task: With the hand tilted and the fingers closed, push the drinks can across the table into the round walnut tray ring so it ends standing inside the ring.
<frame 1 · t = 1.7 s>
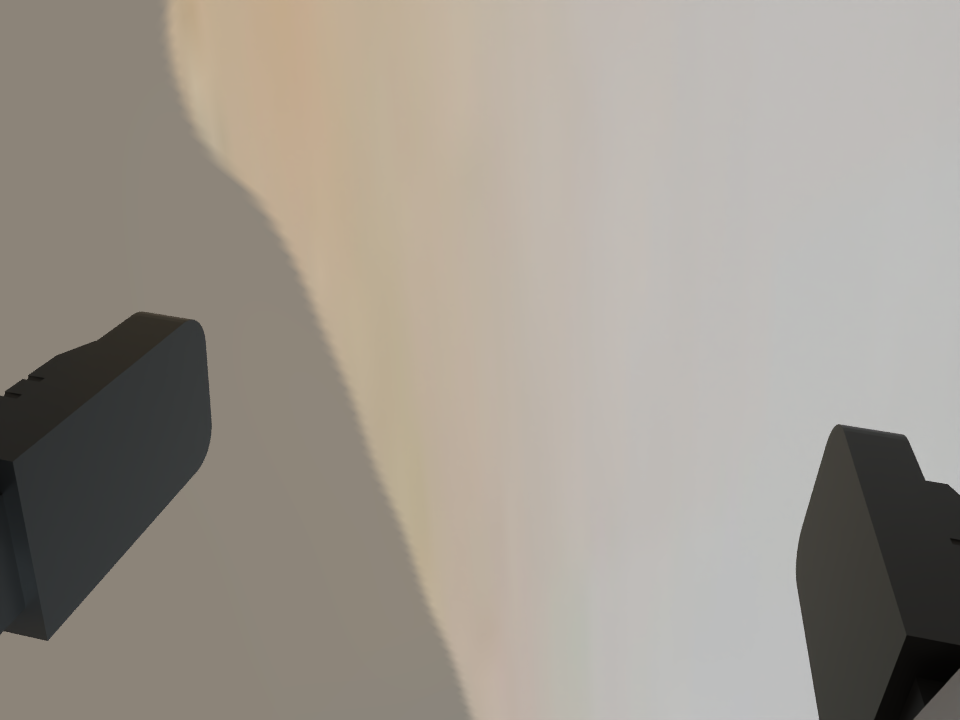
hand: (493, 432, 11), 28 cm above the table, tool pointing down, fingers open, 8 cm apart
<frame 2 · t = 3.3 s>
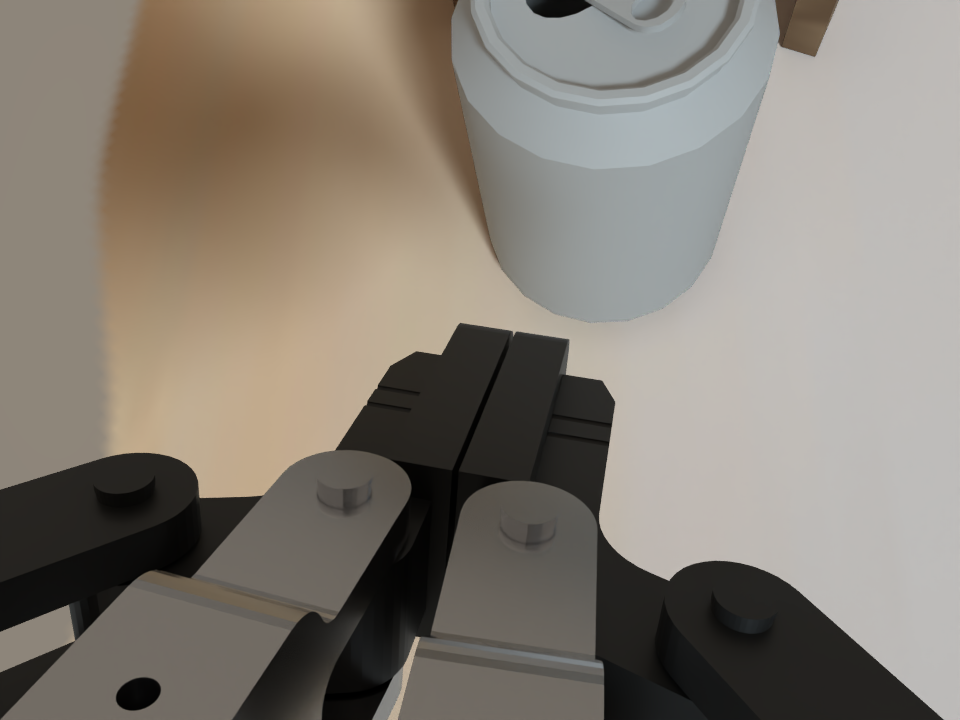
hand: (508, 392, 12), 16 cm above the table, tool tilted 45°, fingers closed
can: (601, 231, 31), on the table
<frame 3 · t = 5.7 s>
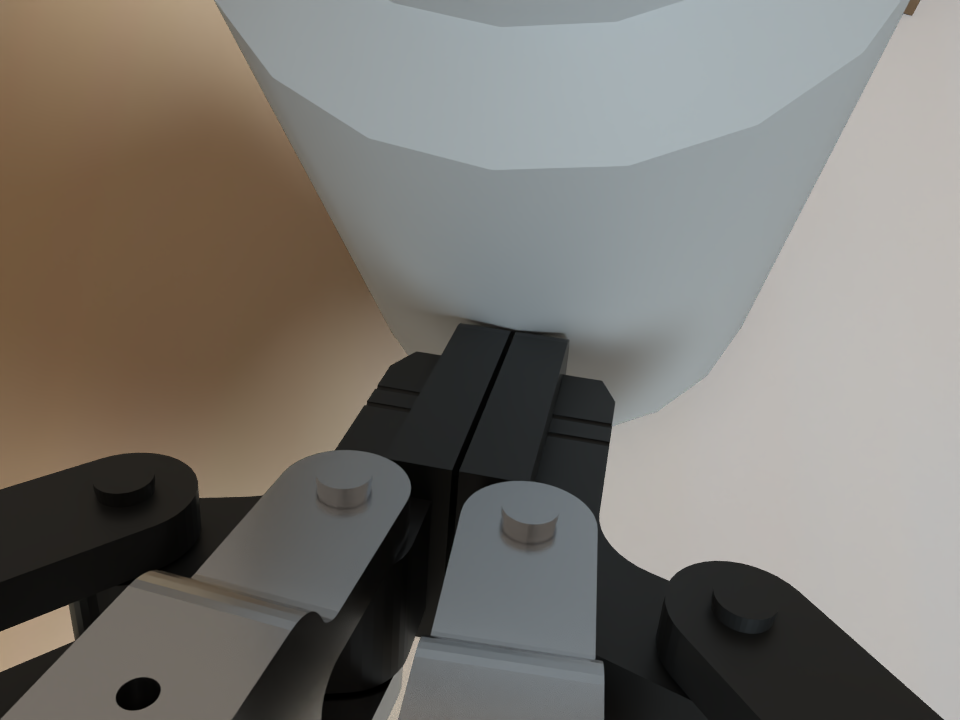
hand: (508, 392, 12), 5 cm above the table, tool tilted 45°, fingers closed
can: (562, 272, 19), on the table, touching gripper
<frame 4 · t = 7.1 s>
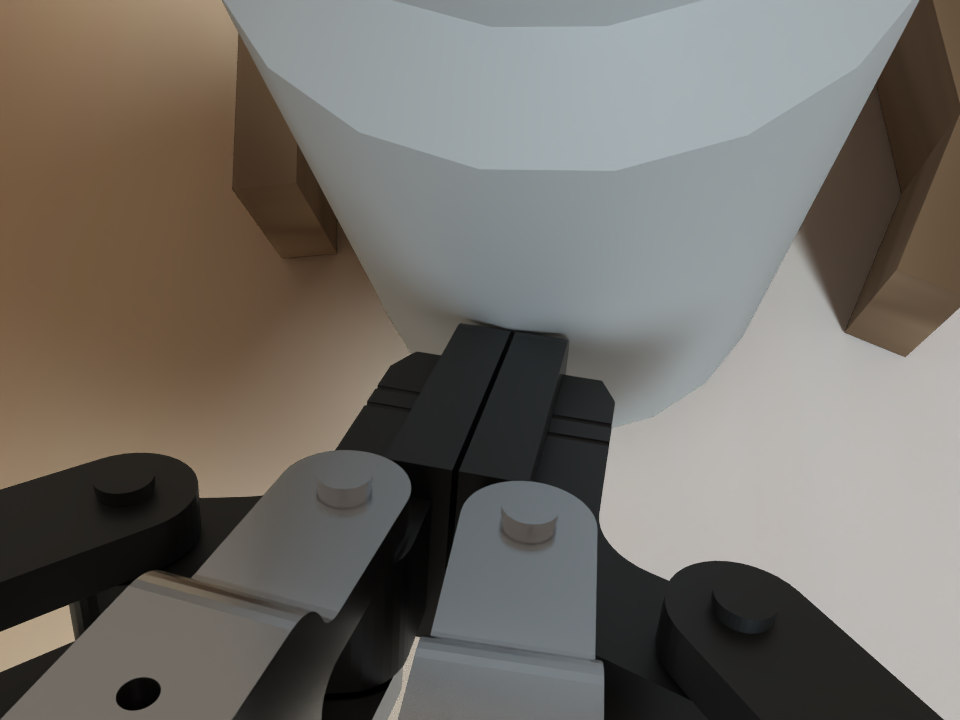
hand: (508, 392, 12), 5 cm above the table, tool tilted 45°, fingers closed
can: (567, 272, 19), on the table, touching gripper
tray: (605, 155, 19), on the table
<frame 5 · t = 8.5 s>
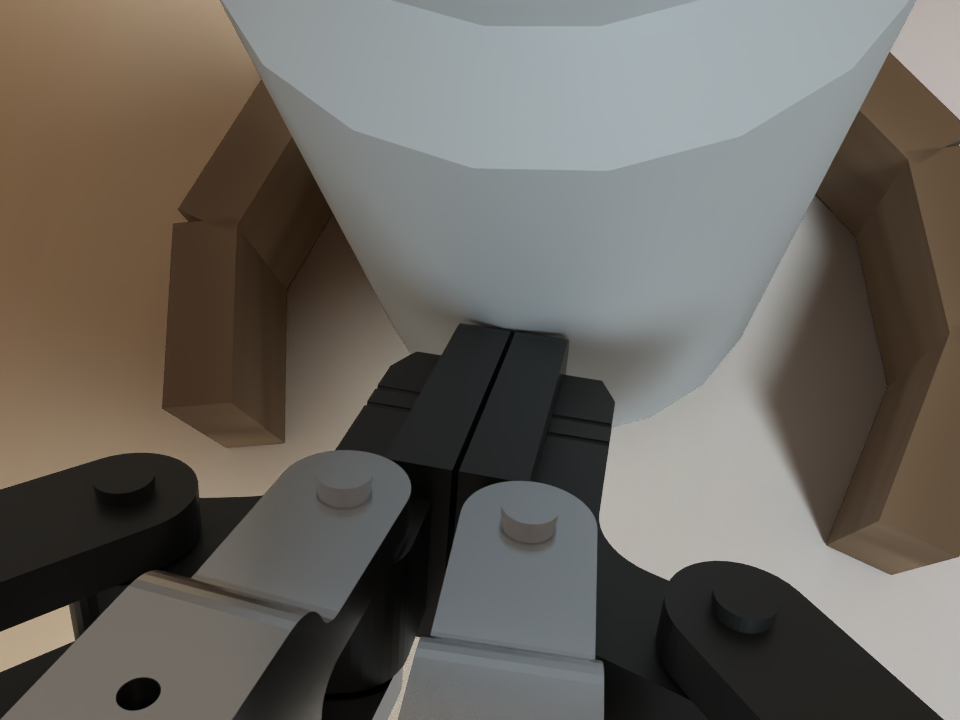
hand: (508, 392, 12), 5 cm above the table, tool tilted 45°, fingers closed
can: (566, 272, 19), on the table, touching gripper
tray: (571, 335, 18), on the table
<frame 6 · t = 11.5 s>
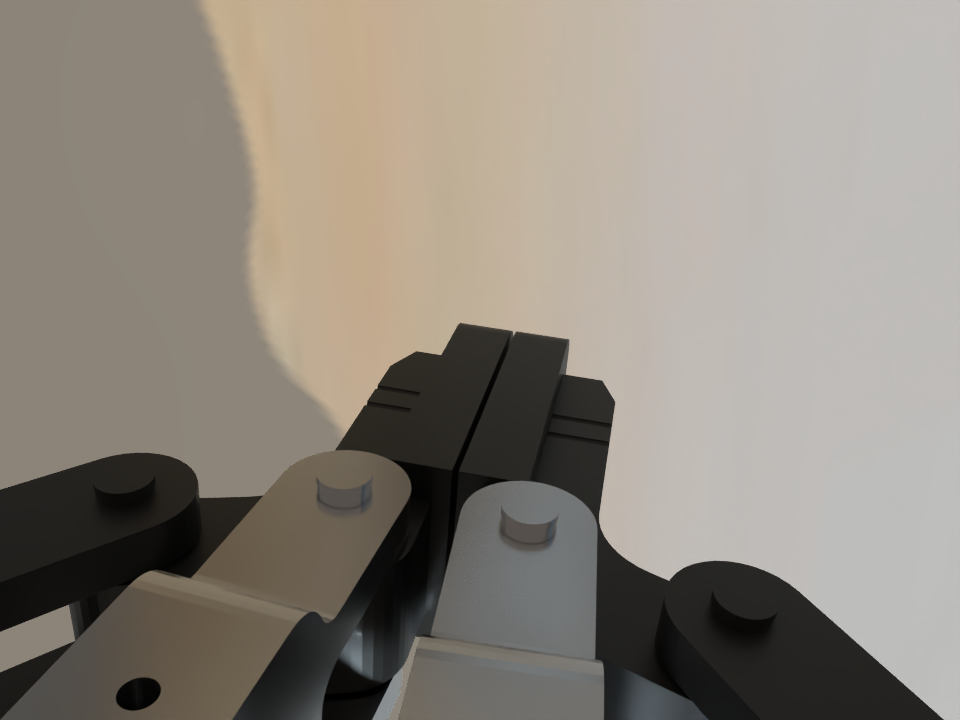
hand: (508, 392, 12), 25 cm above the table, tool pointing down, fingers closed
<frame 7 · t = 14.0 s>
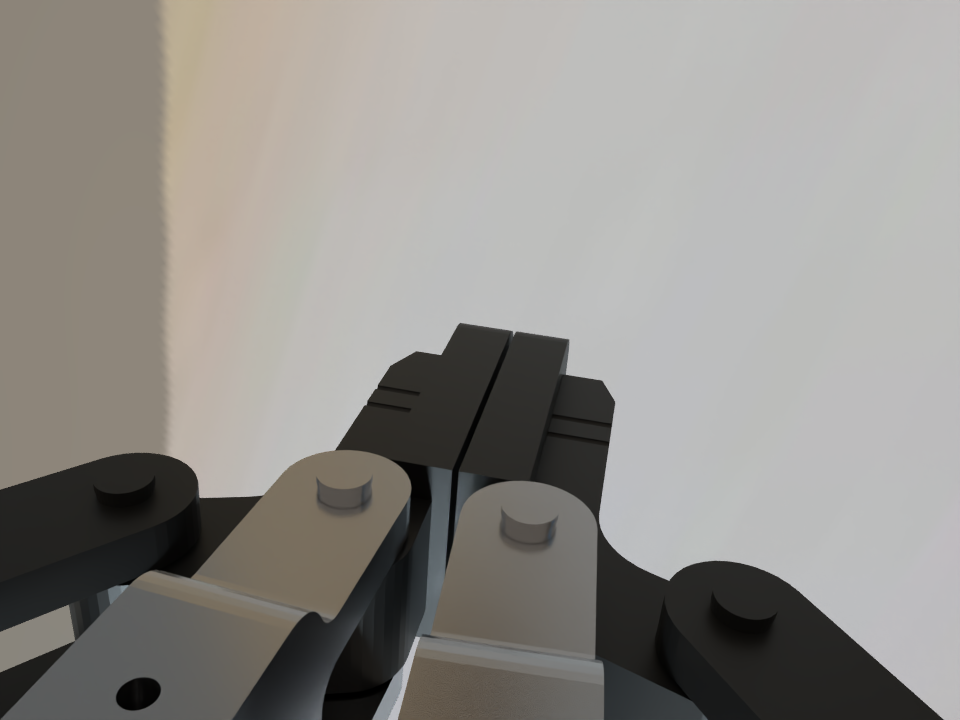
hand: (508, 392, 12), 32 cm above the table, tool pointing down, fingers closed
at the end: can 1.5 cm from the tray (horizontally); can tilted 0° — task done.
